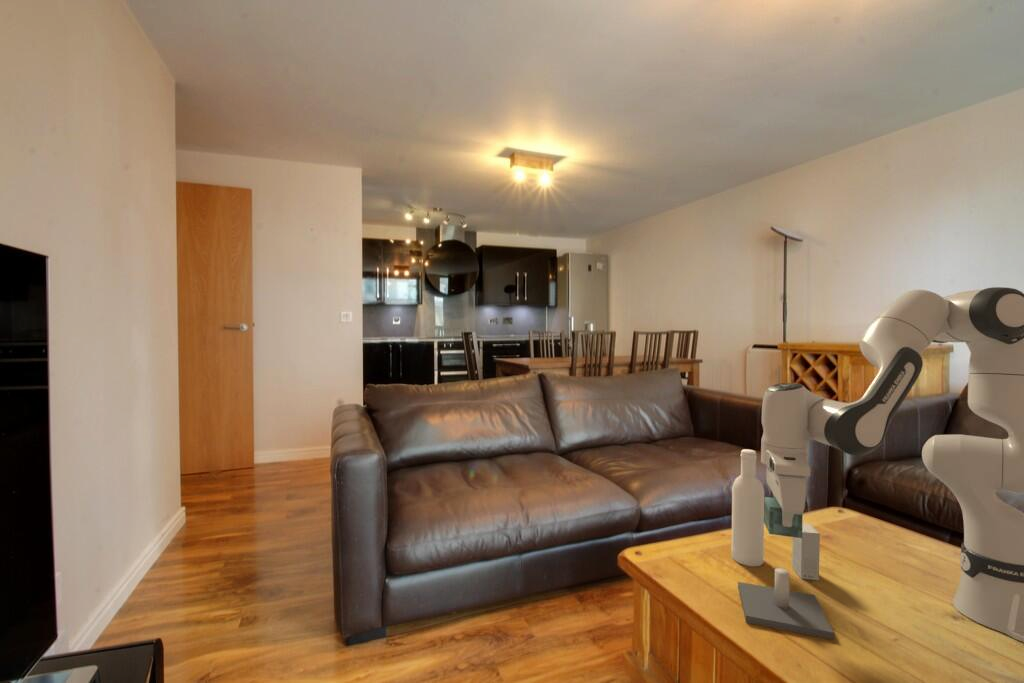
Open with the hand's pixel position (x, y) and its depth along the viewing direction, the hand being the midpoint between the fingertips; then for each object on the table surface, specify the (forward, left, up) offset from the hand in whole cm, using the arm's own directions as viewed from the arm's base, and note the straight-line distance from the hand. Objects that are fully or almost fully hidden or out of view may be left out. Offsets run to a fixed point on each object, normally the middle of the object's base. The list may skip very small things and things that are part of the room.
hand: (782, 518), depth 101 cm
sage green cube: (0, 0, -3) cm, 3 cm away
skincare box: (-9, -20, -21) cm, 30 cm away
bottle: (+4, -23, -21) cm, 31 cm away
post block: (0, 0, -21) cm, 21 cm away
